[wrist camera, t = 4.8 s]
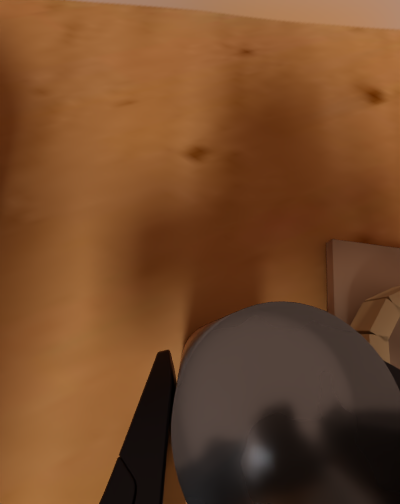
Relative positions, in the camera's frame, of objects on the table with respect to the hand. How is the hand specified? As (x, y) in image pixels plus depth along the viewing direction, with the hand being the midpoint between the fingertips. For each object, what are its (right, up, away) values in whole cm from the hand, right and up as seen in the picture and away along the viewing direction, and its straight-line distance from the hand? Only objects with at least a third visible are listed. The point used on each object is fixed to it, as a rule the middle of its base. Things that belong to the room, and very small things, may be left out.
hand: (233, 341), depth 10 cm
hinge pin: (0, -3, +6) cm, 7 cm away
